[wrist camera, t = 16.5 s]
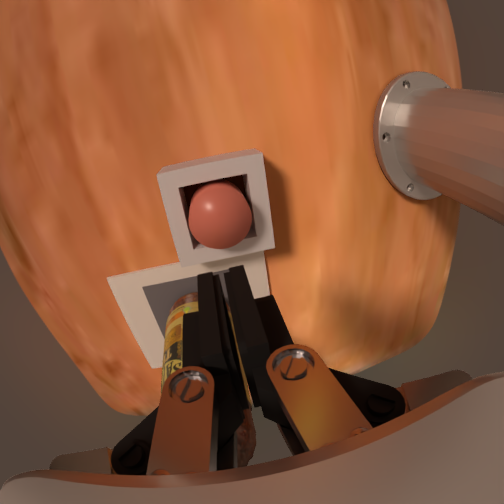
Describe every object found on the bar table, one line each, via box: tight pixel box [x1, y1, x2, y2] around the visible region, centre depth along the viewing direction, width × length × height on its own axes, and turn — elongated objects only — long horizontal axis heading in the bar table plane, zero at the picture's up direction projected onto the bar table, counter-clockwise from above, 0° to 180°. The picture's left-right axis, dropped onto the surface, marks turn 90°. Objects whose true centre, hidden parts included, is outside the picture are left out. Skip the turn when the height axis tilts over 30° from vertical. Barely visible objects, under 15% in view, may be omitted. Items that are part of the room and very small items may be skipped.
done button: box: [189, 179, 252, 249], centre depth 19 cm, size 4×4×3 cm
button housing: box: [157, 148, 275, 267], centre depth 21 cm, size 7×7×3 cm
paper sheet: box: [107, 250, 270, 368], centre depth 26 cm, size 14×12×1 cm
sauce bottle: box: [161, 292, 256, 468], centre depth 17 cm, size 7×6×20 cm
